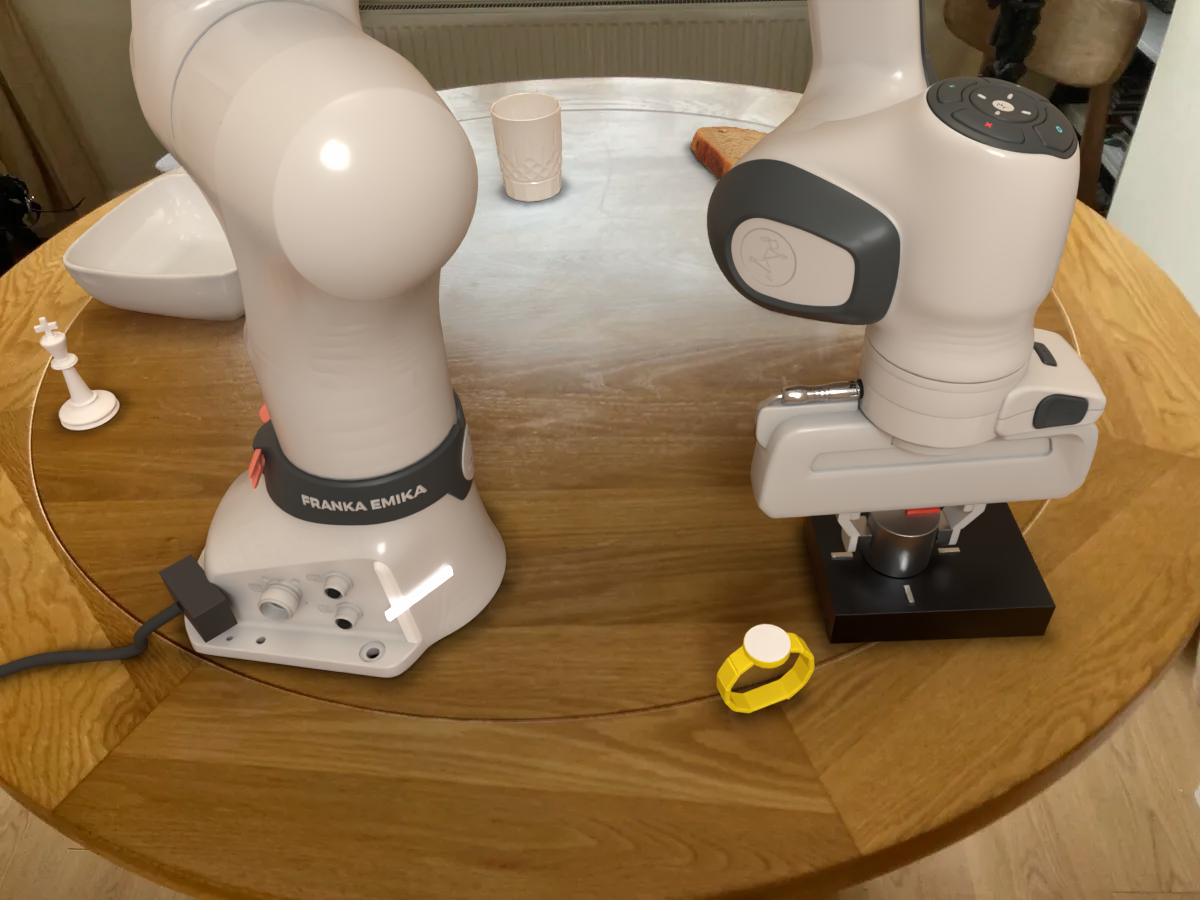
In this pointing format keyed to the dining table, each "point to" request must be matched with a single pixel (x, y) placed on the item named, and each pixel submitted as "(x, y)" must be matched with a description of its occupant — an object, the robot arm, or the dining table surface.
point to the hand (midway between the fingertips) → (898, 541)
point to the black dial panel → (933, 586)
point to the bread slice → (723, 146)
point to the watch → (765, 651)
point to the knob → (902, 540)
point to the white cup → (529, 144)
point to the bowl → (160, 255)
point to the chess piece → (76, 385)
